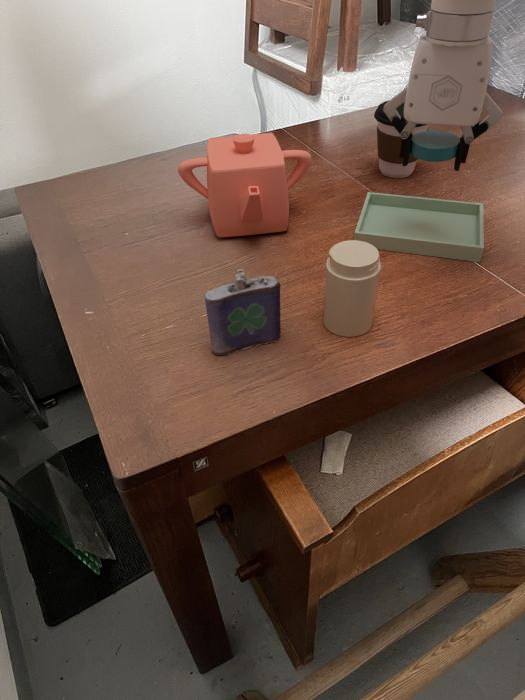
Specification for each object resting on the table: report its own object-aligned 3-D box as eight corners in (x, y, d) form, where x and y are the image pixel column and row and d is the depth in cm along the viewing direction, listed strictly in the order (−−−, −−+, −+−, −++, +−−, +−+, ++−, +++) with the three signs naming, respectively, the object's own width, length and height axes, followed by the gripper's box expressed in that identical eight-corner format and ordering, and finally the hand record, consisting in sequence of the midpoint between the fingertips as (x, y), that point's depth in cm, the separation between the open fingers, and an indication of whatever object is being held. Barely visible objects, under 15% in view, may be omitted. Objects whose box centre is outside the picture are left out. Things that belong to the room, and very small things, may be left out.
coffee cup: (398, 189, 94) (409, 123, 86) (356, 170, 101) (362, 107, 92) (436, 172, 99) (449, 107, 91) (393, 155, 105) (402, 93, 97)
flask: (214, 358, 63) (204, 289, 56) (208, 343, 65) (198, 275, 58) (283, 340, 65) (283, 271, 58) (276, 326, 67) (274, 258, 60)
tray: (479, 216, 86) (483, 203, 84) (479, 262, 76) (484, 248, 74) (366, 204, 90) (367, 191, 89) (353, 246, 81) (354, 232, 79)
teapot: (185, 202, 94) (173, 125, 84) (302, 191, 95) (303, 114, 85) (186, 261, 79) (172, 176, 70) (324, 248, 81) (329, 162, 71)
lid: (407, 160, 73) (409, 147, 72) (410, 141, 78) (412, 129, 76) (457, 163, 71) (460, 150, 70) (457, 144, 76) (460, 131, 75)
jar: (372, 307, 69) (382, 239, 62) (372, 339, 65) (383, 270, 57) (324, 303, 70) (328, 236, 63) (321, 335, 66) (324, 266, 58)
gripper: (384, 31, 63) (368, 170, 75) (535, 35, 59) (492, 181, 71) (391, 18, 68) (375, 150, 80) (530, 21, 64) (491, 159, 76)
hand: (430, 163), depth 76 cm, fingers closed on lid, 6 cm apart
